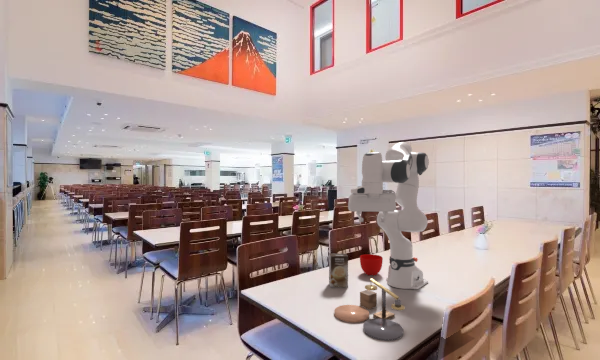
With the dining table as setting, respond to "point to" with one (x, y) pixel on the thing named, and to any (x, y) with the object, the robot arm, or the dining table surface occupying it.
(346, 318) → the terracotta dish
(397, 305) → the balance
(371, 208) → the robot arm
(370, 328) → the charcoal dish
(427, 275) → the dining table surface
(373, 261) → the ceramic cup
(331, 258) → the coffee box
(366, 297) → the walnut block
